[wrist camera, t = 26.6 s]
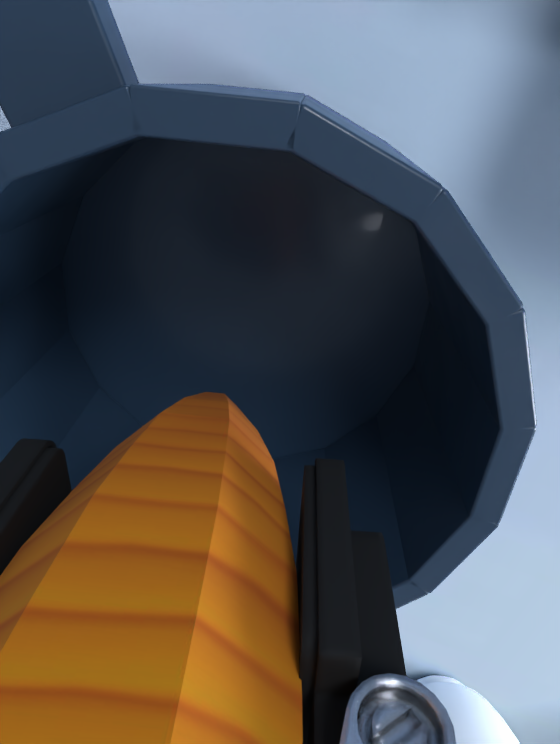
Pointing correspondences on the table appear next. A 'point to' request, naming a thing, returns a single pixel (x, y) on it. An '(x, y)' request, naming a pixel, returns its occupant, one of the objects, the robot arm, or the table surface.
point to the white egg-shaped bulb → (469, 713)
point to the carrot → (158, 596)
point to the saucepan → (250, 289)
